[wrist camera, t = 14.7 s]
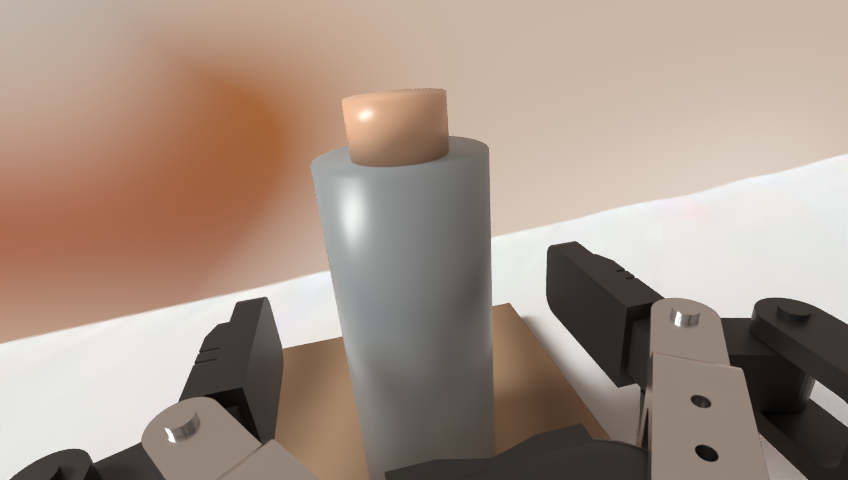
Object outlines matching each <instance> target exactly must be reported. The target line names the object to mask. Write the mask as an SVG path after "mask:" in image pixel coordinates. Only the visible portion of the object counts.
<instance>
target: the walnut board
mask: <svg viewBox="0 0 848 480" xmlns="http://www.w3.org/2000/svg"><path fill="white" fill-rule="evenodd" d="M492 328H493V378H494V428H495V456H497V455H499V454H500V453H502V452H504V451H506V450H508V449H510V448H512V447H513V446H515V445H517V444H519V443H521V442H523V441H525V440H526V439H528V438H530V437H532V436H534V435H536V434H540V433H544V432H548V431H552V430H556V429H560V428H564V427H568V426H572V425H576V424H580V423H582V424H583V426H584V427H585V429H586V430H587V431H588V433H589V434H590V436H591V437H592V438H599V439H609V440H611V439H610V438H609V436H608V435H607V434H606V432H605V431H604V430H603V428H602V427H601V426H600V424H599V423H598V421H597V420H596V419H595V417H594V416H593V415H592V413H591V412H590V411H589V409H588V408H587V407H586V405H585V404H584V403H583V401H582V400H581V399H580V397H579V396H578V395H577V393H576V392H575V390H574V389H573V388H572V386H571V385H570V384H569V382H568V381H567V380H566V378H565V377H564V376H563V374H562V373H561V372H560V370H559V369H558V368H557V366H556V365H555V364H554V362H553V361H552V359H551V358H550V357H549V355H548V354H547V353H546V351H545V350H544V349H543V347H542V346H541V345H540V343H539V342H538V341H537V339H536V338H535V337H534V335H533V334H532V333H531V331H530V330H529V328H528V327H527V326H526V324H525V323H524V322H523V320H522V319H521V318H520V316H519V315H518V314H517V312H516V311H515V310H514V308H513V307H512V306H511V304H510V303H506V304H502V305H497V306H492ZM282 350H283V359H284V368H283V376H282V384H281V391H280V399H279V407H278V415H277V423H276V430H275V438H274V440H275V441H277V442H278V443H279V444H280V445H281V446H283V447H284V448H285V449H286V450H287V451H288V452H289V453H290V454H291V455H293V456H294V457H295V458H296V459H297V460H298V461H299V462H300V463H301V464H302V465H304V466H305V467H306V468H307V469H308V470H309V471H310V472H311V473H312V474H314V475H315V476H316V477H317V478H318V479H319V480H370V477H369V472H368V467H367V462H366V457H365V451H364V446H363V441H362V435H361V430H360V425H359V420H358V414H357V409H356V404H355V398H354V393H353V388H352V382H351V377H350V372H349V367H348V361H347V356H346V351H345V345H344V340H343V337H339V338H334V339H329V340H324V341H319V342H314V343H309V344H304V345H299V346H294V347H289V348H284V349H282Z"/></svg>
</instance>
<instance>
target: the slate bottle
mask: <svg viewBox="0 0 848 480" xmlns="http://www.w3.org/2000/svg"><path fill="white" fill-rule="evenodd" d="M342 106H343V113H344V120H345V126H346V133H347V139H348V146H345V147H341V148H338V149H335V150H332V151H330V152H327V153H325V154H323V155H321V156H319V157H317V158H316V159H314V160H313V162H312V163H311V171H312V175H313V181H314V186H315V192H316V197H317V202H318V207H319V213H320V218H321V224H322V228H323V234H324V239H325V245H326V250H327V255H328V260H329V266H330V271H331V277H332V282H333V287H334V292H335V298H336V303H337V308H338V314H339V319H340V324H341V330H342V335H343V340H344V345H345V351H346V356H347V361H348V367H349V372H350V377H351V382H352V388H353V393H354V398H355V404H356V409H357V414H358V420H359V425H360V430H361V435H362V441H363V446H364V451H365V457H366V462H367V467H368V472H369V477H370V480H386V479H385V472H387V471H391V470H395V469H399V468H403V467H407V466H411V465H415V464H419V463H423V462H427V461H431V460H435V459H485V458H492V457H495V428H494V378H493V328H492V277H491V230H490V229H491V227H490V181H489V180H490V177H489V148H488V146H487V145H486V144H484V143H482V142H480V141H477V140H473V139H469V138H464V137H455V136H449V135H448V117H447V101H446V90H443V89H431V88H429V89H427V88H426V89H403V90H391V91H383V92H382V91H381V92H374V93H367V94H361V95H355V96H351V97H347V98H344V99H343V100H342Z"/></svg>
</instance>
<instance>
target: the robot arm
mask: <svg viewBox="0 0 848 480" xmlns="http://www.w3.org/2000/svg"><path fill="white" fill-rule="evenodd" d="M546 296H547V301H548V305H549V307H550V309H551V311H552V312H553V314H554V315H555V316H556V317H557V318H558V319H559V321H560V322H561V323H562V324H563V325H564V326H565V327H566V329H567V330H568V331H569V332H570V333H571V334H572V335H573V337H574V338H575V339H576V340H577V341H578V342H579V344H580V345H581V346H582V347H583V348H584V349H585V350H586V352H587V353H588V354H589V355H590V356H591V357H592V358H593V360H594V361H595V362H596V363H597V364H598V365H599V366H600V368H601V369H602V370H603V371H604V372H605V373H606V374H607V376H608V377H609V378H610V379H611V380H612V381H613V383H614V384H615V385H616V386H617V387H618V388H619V387H623V386H627V385H631V384H635V383H637V384H638V385H639V386H640V392H639V401H638V421H637V441H636V446H635V445H632V444H628V443H625V442H620V441H615V440H609V439H599V438H592V437H591V436H590V434H589V433H588V431H587V430H586V429H585V427H584V426H583V424H582V423H580V424H576V425H572V426H568V427H564V428H560V429H556V430H552V431H548V432H544V433H540V434H536V435H534V436H532V437H530V438H528V439H526V440H525V441H523V442H521V443H519V444H517V445H515V446H513V447H512V448H510V449H508V450H506V451H504V452H502V453H500V454H499V455H497V456H495V457H492V458H485V459H435V460H431V461H427V462H423V463H419V464H415V465H411V466H407V467H403V468H399V469H395V470H391V471H387V472H385V479H386V480H769V476H768V472H767V468H766V464H765V459H764V455H763V451H762V447H761V443H760V439H759V434H758V432H759V433H760V434H761V435H762V436H763V437H764V438H765V439H766V440H767V441H768V442H769V443H770V444H772V445H773V446H774V447H775V448H776V449H777V450H778V451H779V452H780V453H781V454H782V455H783V456H784V457H785V458H786V459H787V460H788V461H789V462H790V463H791V464H793V465H794V466H795V467H796V468H797V469H798V470H799V471H800V472H801V473H802V474H803V475H804V476H805V477H806V478H807V479H808V480H848V427H846V426H845V425H844V424H842V423H841V422H840V421H839V420H837V419H836V418H835V417H833V416H832V415H831V414H829V413H828V412H827V411H826V410H824V409H823V408H822V407H820V406H819V405H818V404H816V403H815V402H814V401H813V400H811V399H810V398H809V397H810V395H811V392H812V389H813V386H814V383H815V380H817V381H818V382H820V383H821V384H823V385H824V386H825V387H827V388H828V389H830V390H831V391H832V392H834V393H835V394H837V395H838V396H839V397H841V398H842V399H843V400H844V401H845V402H846V403H847V404H848V324H846V323H844V322H842V321H841V320H839V319H837V318H835V317H834V316H832V315H830V314H828V313H826V312H825V311H823V310H821V309H819V308H817V307H815V306H813V305H810V304H807V303H804V302H801V301H797V300H792V299H786V298H766V299H762V300H759V301H758V302H756V304H755V305H754V309H753V313H752V317H751V318H720V316H719V315H718V314H717V313H716V312H715V311H714V310H713V309H711V308H710V307H708V306H706V305H704V304H702V303H699V302H696V301H693V300H688V299H682V298H667V299H665V298H664V297H662V296H661V295H660V294H658V293H657V292H656V291H654V290H653V289H651V288H650V287H649V286H647V285H646V284H645V283H643V282H642V281H640V280H639V279H638V278H635V277H634V275H632V274H631V273H629V272H628V271H625V269H624V268H623V267H621V266H620V265H618V264H617V263H616V262H614V261H613V260H610V259H608V258H605V257H602V256H600V255H597V254H592V253H591V252H590V251H589V250H587V249H586V248H585V247H583V246H582V245H581V244H579V243H578V242H576V241H573V242H568V243H562V244H557V245H551V246H550V247H549V248H548V251H547V275H546ZM199 352H200V354H198V356H197V358H196V360H195V365H194V366H193V368H192V370H191V372H190V375H189V377H188V380H187V382H186V385H185V387H184V389H183V392H182V394H181V397H180V399H179V401H178V403H176V404H174V405H172V406H170V407H168V408H167V409H165V410H164V411H162V412H161V413H160V414H158V415H157V416H156V417H155V418H154V419H153V420H152V421H151V422H150V423H149V424H148V426H147V427H146V429H145V430H144V433H143V435H142V442H140V443H138V444H136V445H134V446H132V447H130V448H128V449H125V450H123V451H121V452H118V453H116V454H114V455H112V456H109V457H107V458H105V459H102V460H100V461H98V462H96V463H93V461H92V459H91V458H90V456H89V454H88V453H87V452H86V451H84V450H81V449H67V450H62V451H58V452H55V453H52V454H50V455H47V456H45V457H43V458H41V459H39V460H37V461H35V462H33V463H32V464H30V465H28V466H27V467H25V468H24V469H22V470H21V471H20V472H18V473H17V474H16V475H14V476H13V477H12V478H11V479H10V480H319V479H318V478H317V477H316V476H315V475H314V474H312V473H311V472H310V471H309V470H308V469H307V468H306V467H305V466H304V465H302V464H301V463H300V462H299V461H298V460H297V459H296V458H295V457H294V456H293V455H291V454H290V453H289V452H288V451H287V450H286V449H285V448H284V447H283V446H281V445H280V444H279V443H278V442H277V441H275V440H274V438H275V430H276V423H277V415H278V407H279V399H280V391H281V384H282V376H283V368H284V359H283V350H282V345H281V341H280V338H279V334H278V331H277V327H276V324H275V320H274V316H273V313H272V309H271V306H270V303H269V300H268V298H267V297H262V298H256V299H251V300H245V301H240V302H237V303H236V305H235V308H234V311H233V314H232V316H231V319H230V322H227V323H222V324H218V325H217V326H216V327H215V328H214V329H213V330H212V331H211V332H210V333H209V334H208V335H207V336H206V337H205V339H204V341H203V344H202V346H201V348H200V351H199Z"/></svg>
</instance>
